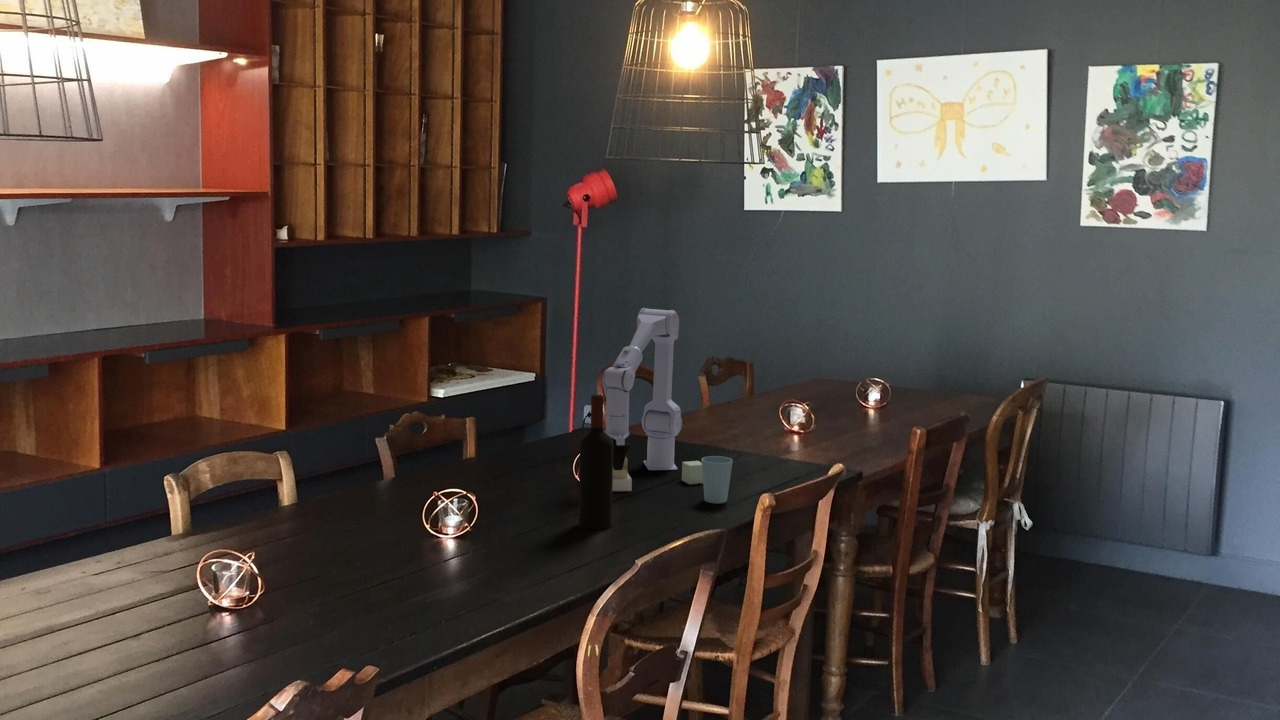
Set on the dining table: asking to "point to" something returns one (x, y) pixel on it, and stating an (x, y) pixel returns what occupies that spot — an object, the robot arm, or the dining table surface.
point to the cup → (716, 478)
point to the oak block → (622, 472)
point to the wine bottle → (596, 472)
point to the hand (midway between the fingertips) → (616, 467)
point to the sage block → (692, 472)
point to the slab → (622, 484)
